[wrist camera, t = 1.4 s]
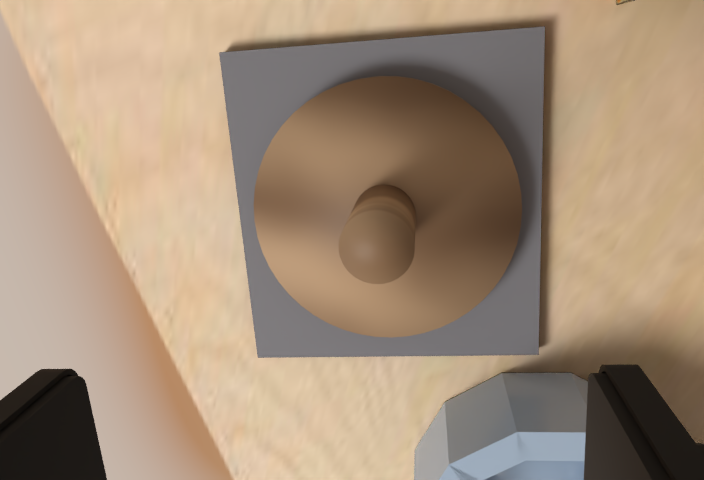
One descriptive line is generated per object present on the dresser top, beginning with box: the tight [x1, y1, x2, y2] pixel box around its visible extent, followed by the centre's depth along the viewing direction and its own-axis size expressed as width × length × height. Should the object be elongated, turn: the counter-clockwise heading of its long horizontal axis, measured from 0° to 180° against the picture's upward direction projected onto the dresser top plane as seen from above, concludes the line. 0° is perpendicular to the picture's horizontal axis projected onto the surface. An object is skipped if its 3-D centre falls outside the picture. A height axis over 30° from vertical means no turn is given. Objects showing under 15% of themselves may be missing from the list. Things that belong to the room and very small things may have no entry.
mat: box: [219, 26, 545, 358], centre depth 27 cm, size 15×14×1 cm
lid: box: [254, 76, 522, 338], centre depth 24 cm, size 12×12×6 cm
